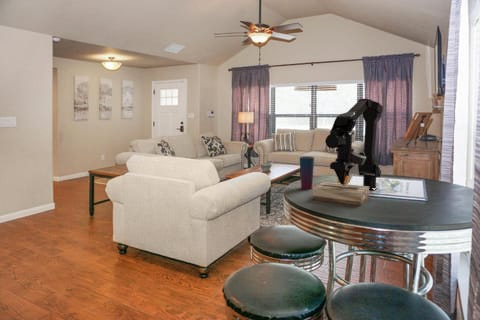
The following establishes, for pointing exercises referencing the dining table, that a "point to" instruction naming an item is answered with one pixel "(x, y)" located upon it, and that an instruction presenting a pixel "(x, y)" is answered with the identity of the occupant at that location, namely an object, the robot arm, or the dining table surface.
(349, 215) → the dining table surface
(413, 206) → the dining table surface
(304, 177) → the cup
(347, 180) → the peg
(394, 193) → the dining table surface
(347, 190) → the keyhole track
